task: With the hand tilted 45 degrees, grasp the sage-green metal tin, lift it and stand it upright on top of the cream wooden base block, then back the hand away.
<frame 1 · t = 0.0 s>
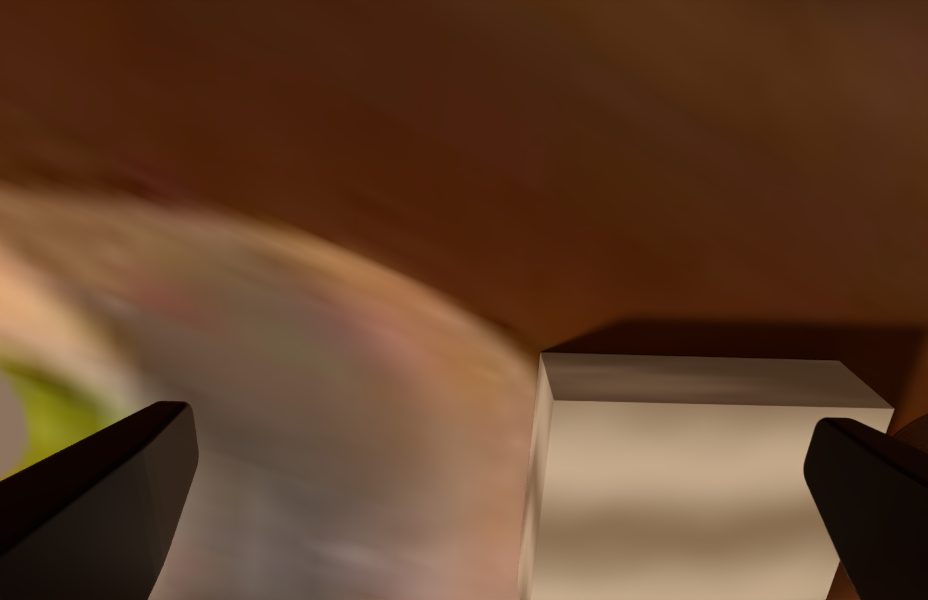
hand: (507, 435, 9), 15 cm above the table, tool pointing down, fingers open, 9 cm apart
base block: (665, 478, 28), on the table
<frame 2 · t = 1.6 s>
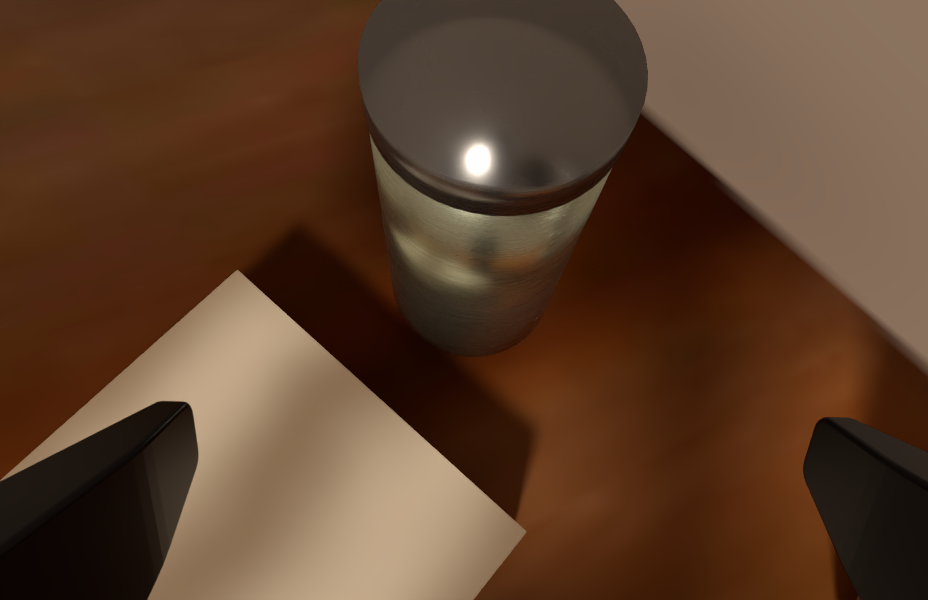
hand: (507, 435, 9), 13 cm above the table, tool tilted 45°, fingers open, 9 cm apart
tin: (471, 281, 25), on the table
base block: (252, 553, 21), on the table
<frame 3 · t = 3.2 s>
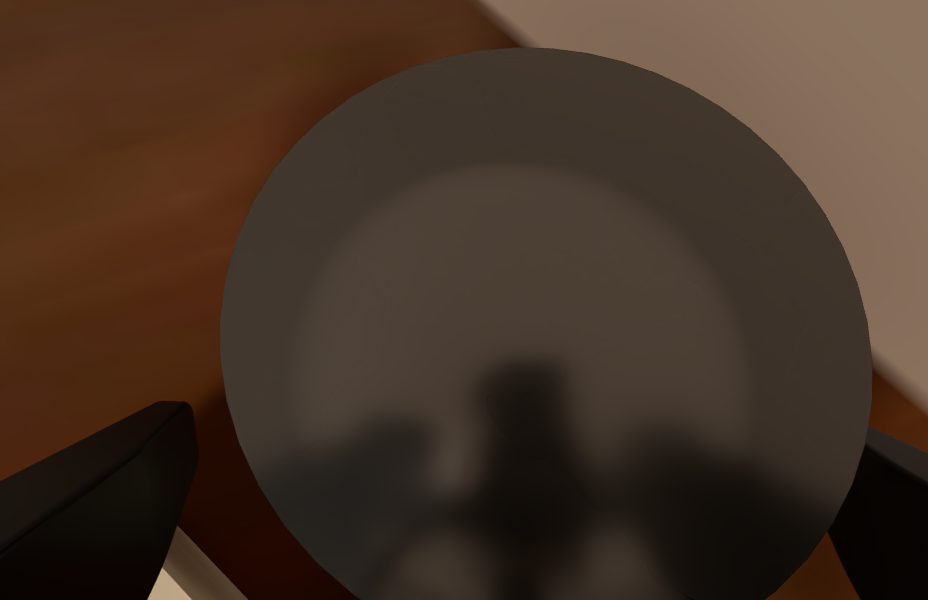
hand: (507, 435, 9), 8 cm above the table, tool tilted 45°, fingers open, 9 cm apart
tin: (473, 468, 17), on the table
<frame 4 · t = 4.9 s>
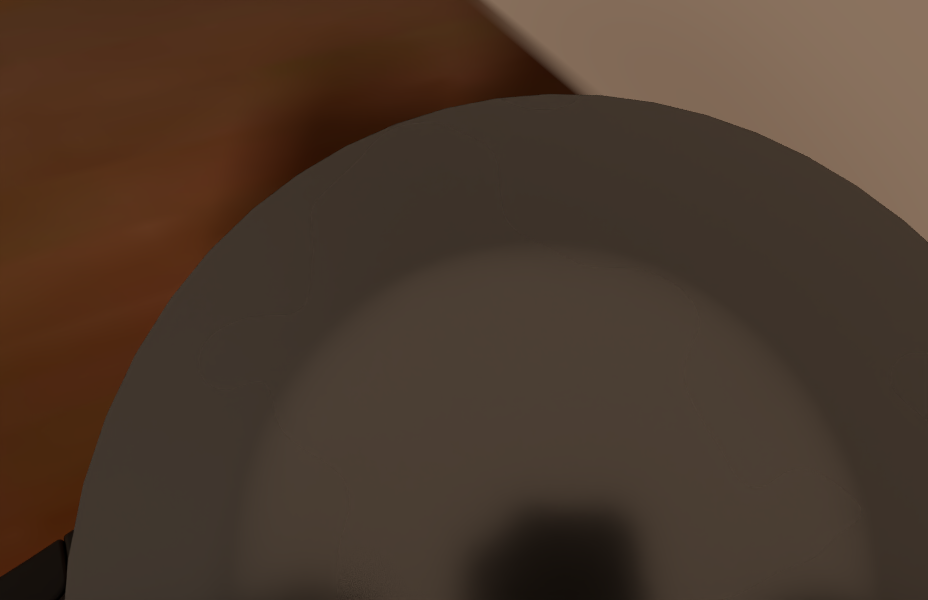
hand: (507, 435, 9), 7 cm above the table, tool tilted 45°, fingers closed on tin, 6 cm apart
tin: (476, 546, 15), on the table, touching gripper
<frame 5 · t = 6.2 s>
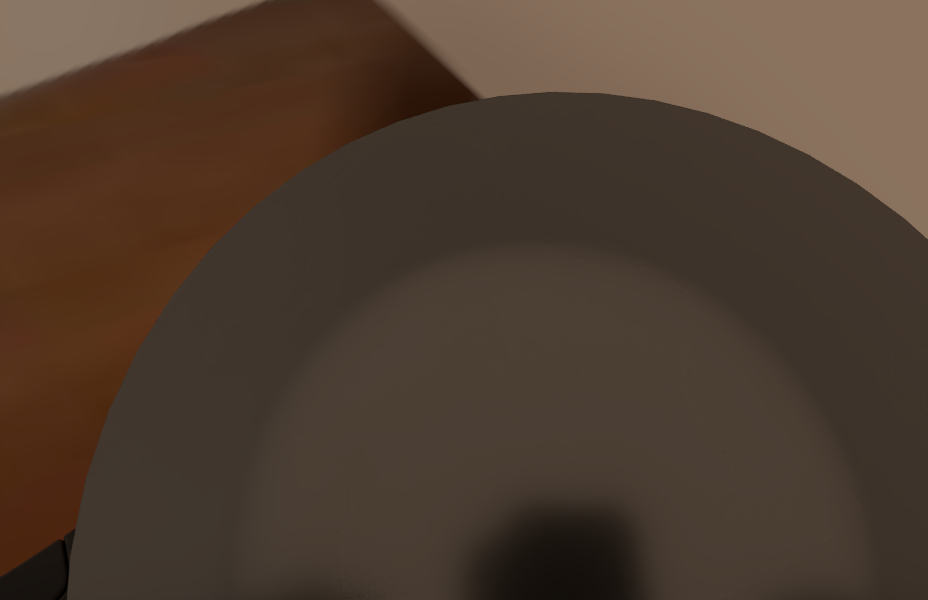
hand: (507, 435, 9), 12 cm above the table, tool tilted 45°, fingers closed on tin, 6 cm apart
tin: (477, 545, 15), point 6 cm above the table, touching gripper
when the fingers open (11 cm above the table, at t = 8.0 s): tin drops 1 cm, resting on base block.
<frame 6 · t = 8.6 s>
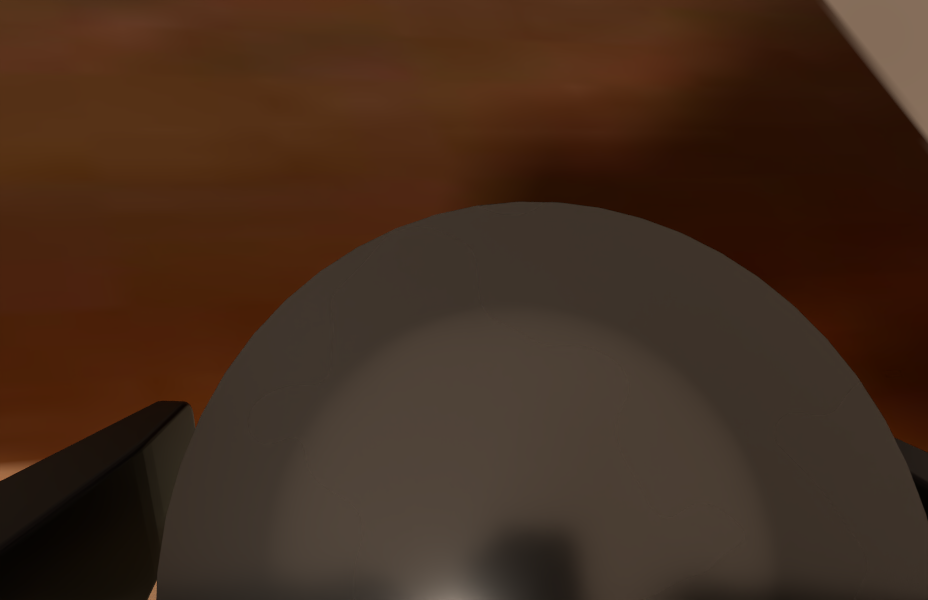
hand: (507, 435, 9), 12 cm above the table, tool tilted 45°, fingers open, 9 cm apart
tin: (470, 549, 16), point 4 cm above the table, touching base block
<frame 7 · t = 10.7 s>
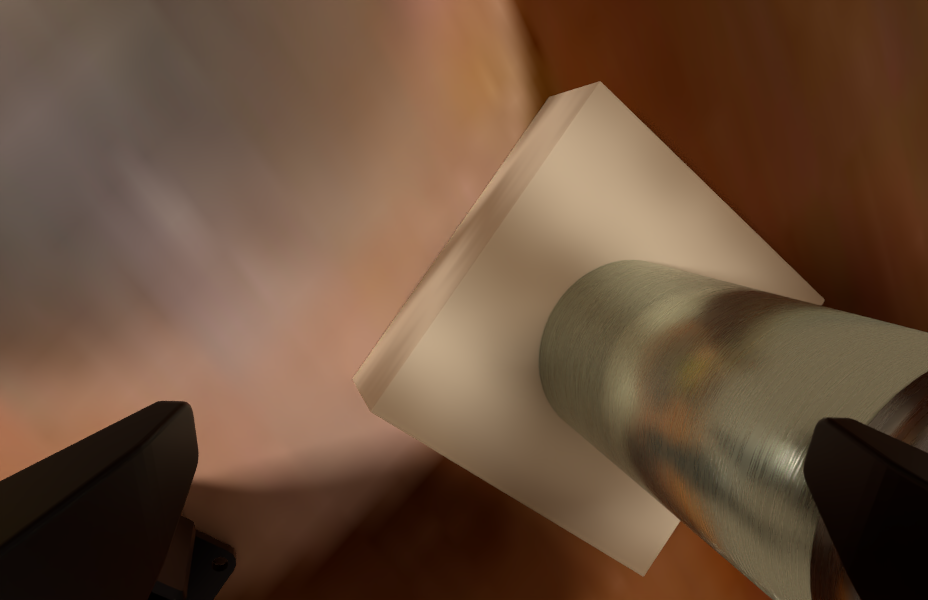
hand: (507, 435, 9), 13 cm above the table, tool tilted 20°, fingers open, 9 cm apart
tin: (623, 350, 21), point 4 cm above the table, touching base block
base block: (573, 328, 25), on the table
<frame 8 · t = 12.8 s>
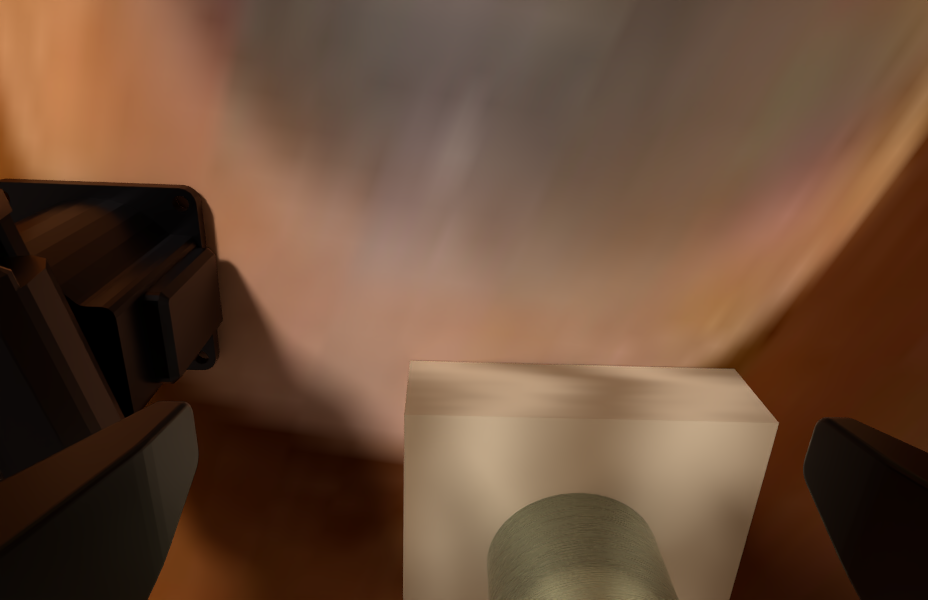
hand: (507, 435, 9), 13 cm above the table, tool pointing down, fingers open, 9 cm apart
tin: (571, 561, 23), point 4 cm above the table, touching base block
base block: (557, 495, 26), on the table
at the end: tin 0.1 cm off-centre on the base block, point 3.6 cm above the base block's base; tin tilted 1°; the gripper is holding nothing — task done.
